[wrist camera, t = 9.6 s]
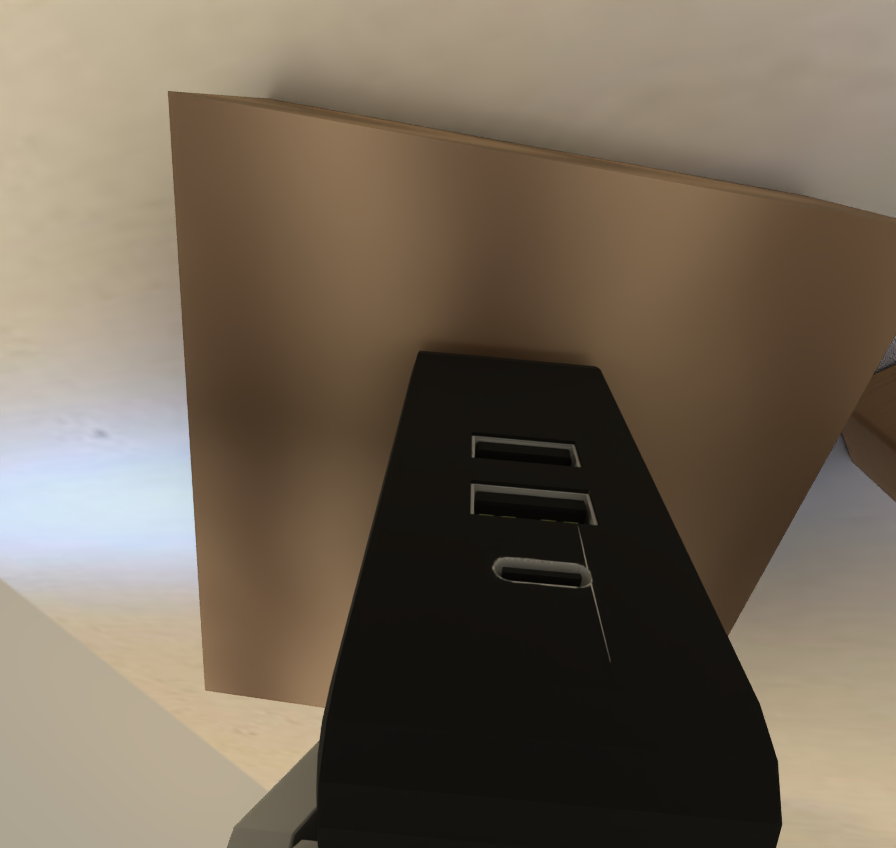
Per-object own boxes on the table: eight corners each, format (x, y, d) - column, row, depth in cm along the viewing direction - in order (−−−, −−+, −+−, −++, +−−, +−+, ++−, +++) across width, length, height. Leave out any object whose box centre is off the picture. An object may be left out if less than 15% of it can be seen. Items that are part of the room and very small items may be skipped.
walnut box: (805, 195, 17) (952, 232, 12) (623, 624, 26) (660, 756, 20) (266, 98, 17) (168, 91, 11) (262, 568, 25) (205, 690, 20)
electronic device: (597, 353, 13) (822, 809, 5) (534, 651, 18) (586, 1158, 9) (417, 337, 13) (300, 762, 5) (401, 639, 18) (328, 1133, 9)
